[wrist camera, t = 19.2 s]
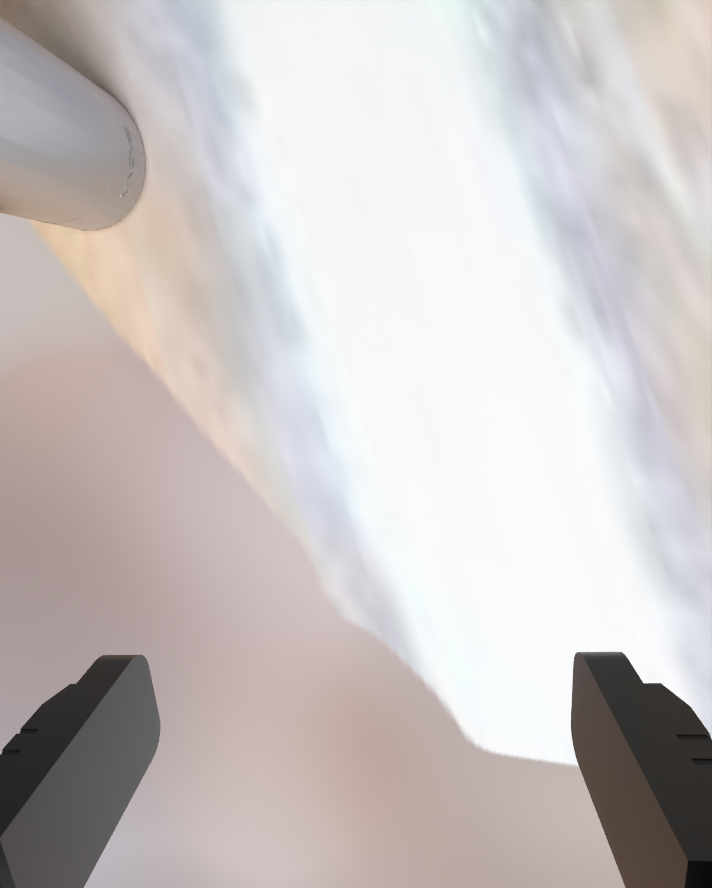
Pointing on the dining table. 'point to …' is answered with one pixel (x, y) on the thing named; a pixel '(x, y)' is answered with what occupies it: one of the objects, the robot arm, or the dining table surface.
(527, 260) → the dining table surface
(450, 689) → the dining table surface
